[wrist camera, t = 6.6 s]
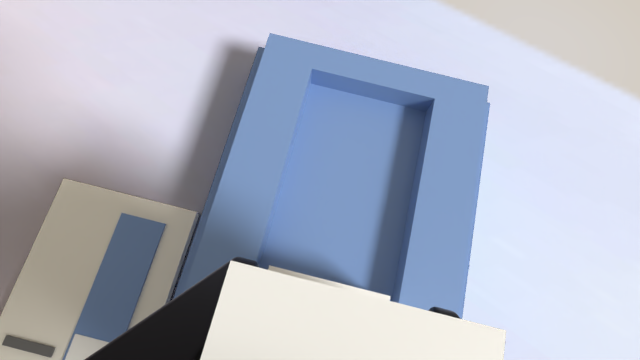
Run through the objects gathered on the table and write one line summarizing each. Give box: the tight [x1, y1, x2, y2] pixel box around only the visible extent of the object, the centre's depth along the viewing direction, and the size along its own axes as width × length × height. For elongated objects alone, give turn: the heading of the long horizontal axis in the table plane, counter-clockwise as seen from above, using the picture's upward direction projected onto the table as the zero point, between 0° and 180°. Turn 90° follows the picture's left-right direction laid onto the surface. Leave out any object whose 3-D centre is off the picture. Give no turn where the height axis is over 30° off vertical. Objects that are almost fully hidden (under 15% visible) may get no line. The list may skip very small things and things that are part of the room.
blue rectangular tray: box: [173, 33, 490, 319], centre depth 14 cm, size 15×9×3 cm, turn 166°
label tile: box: [0, 178, 199, 360], centre depth 14 cm, size 7×5×1 cm
